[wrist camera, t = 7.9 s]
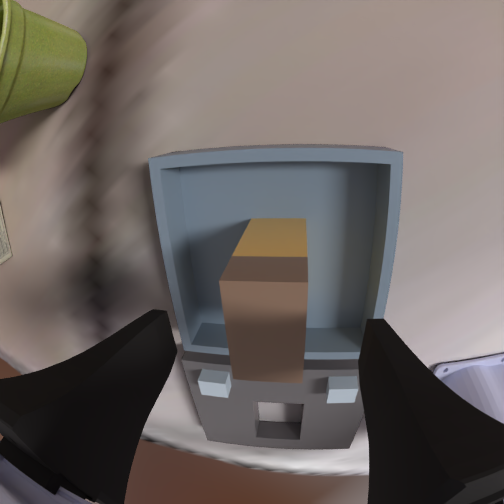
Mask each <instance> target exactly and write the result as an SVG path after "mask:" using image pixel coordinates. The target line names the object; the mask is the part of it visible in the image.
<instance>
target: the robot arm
mask: <svg viewBox="0 0 504 504" xmlns="http://www.w3.org/2000/svg"><path fill="white" fill-rule="evenodd" d="M176 354H177V348H176V344H175V341H174V337H173V333H172V329H171V326H170V322H169V318H168V314H167V311H164V310H154V309H153V310H151V311H149V312H147V313H146V314H144V315H142V316H141V317H139V318H138V319H136V320H134V321H133V322H131V323H130V324H128V325H127V326H125V327H124V328H122V329H121V330H119V331H118V332H116V333H115V334H113V335H111V336H110V337H108V338H107V339H105V340H103V341H101V342H100V343H98V344H96V345H95V346H93V347H91V348H90V349H88V350H86V351H84V352H82V353H80V354H78V355H76V356H74V357H72V358H70V359H68V360H66V361H63V362H61V363H58V364H56V365H53V366H50V367H48V368H45V369H42V370H39V371H36V372H32V373H29V374H25V375H21V376H16V377H11V378H4V379H0V433H1V435H2V436H4V437H3V439H2V440H1V441H0V504H92V503H90V502H88V501H86V500H85V499H88V500H90V501H92V502H98V503H99V504H124V500H125V494H126V488H127V482H128V478H129V474H130V470H131V466H132V462H133V459H134V455H135V451H136V448H137V445H138V442H139V439H140V436H141V433H142V431H143V428H144V425H145V423H146V421H147V418H148V416H149V414H150V412H151V410H152V408H153V406H154V404H155V402H156V400H157V398H158V396H159V394H160V392H161V391H162V389H163V387H164V385H165V383H166V381H167V379H168V377H169V374H170V372H171V369H172V367H173V364H174V361H175V357H176ZM358 369H359V384H360V391H361V397H362V402H363V408H364V414H365V420H366V426H367V432H368V440H369V492H368V504H504V354H499V355H494V356H489V357H484V358H478V359H472V360H466V361H460V362H453V363H446V364H440V365H438V366H437V367H436V368H435V370H434V372H433V373H432V372H431V371H430V370H429V369H428V368H427V367H426V366H425V365H424V364H423V363H422V362H421V361H420V360H419V358H418V357H417V356H416V355H415V354H414V353H413V352H412V351H411V350H410V349H409V348H408V346H407V345H406V344H405V343H404V342H403V341H402V339H401V338H400V337H399V336H398V335H397V334H396V332H395V331H394V330H393V329H392V328H391V326H390V325H389V324H388V323H387V322H386V321H385V320H384V318H381V319H367V321H366V327H365V332H364V337H363V341H362V346H361V351H360V355H359V359H358Z"/></svg>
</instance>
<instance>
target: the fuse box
mask: <svg viewBox="0 0 504 504" xmlns="http://www.w3.org/2000/svg"><path fill="white" fill-rule="evenodd" d="M182 364H183V367H184V371H185V374H186V377H187V381H188V384H189V387H190V390H191V393H192V396H193V400H194V403H195V406H196V409H197V412H198V414H199V417H200V420H201V423H202V426H203V429H204V432H205V434H206V437H207V440H210V441H216V442H223V443H230V444H238V445H246V446H256V447H268V448H284V449H349V448H350V446H351V443H352V441H353V439H354V436H355V434H356V431H357V429H358V427H359V424H360V422H361V419H362V416H363V414H364V408H363V402H362V397H361V391H360V384H359V369H358V359H304V368H303V381H302V383H279V382H261V381H247V380H236V379H233V376H232V369H231V363H230V356H229V355H221V354H211V353H201V352H193V351H185V353H184V355H183V358H182ZM258 402H272V403H293V404H303V410H302V418H301V423H283V422H267V421H259V411H258Z"/></svg>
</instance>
